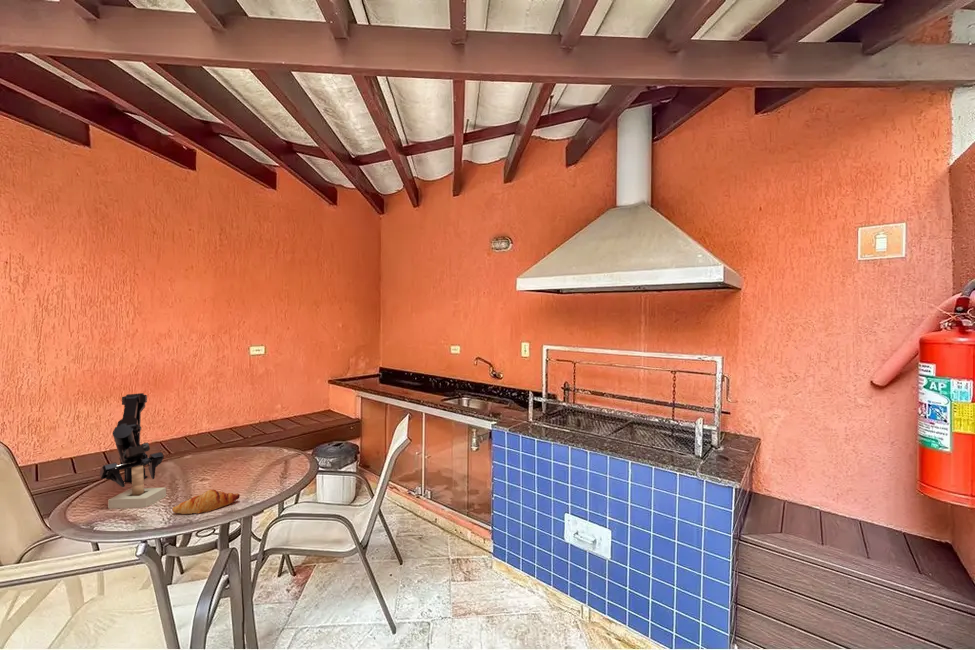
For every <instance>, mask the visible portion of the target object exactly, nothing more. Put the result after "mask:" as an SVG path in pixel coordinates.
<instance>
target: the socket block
mask: <svg viewBox="0 0 975 650" xmlns="http://www.w3.org/2000/svg"><path fill="white" fill-rule="evenodd" d="M166 497H167V487H146V488H145V487H144V494H142V495H140V496H132V488H129V489H127V490H125V491H123V492H121V493H119V494H117V495H115V496H113V497H111V498H109V499H108V500H107V501H108V503H107V504H108V506H107V507H108V510H110V509H111V510H113V509H116V510H117V509H135V508H136V509H137V508H141V509H143V508H148V507H150V506H151V505H153V504H155V503H157V502H159V501H160V500H162V499H163V498H166Z"/></svg>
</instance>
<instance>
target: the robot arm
mask: <svg viewBox="0 0 975 650" xmlns="http://www.w3.org/2000/svg"><path fill="white" fill-rule="evenodd" d="M147 402H148V395H147V394H144V392H142V393H141V392H140V393H130V394H129V393H128V394H127V393H126V395H125V396H121V405H122V406H124V407H123V414H122V418H121V419H120V420H118V422H117V425H116V426H115V427H114V429H113V431H112V437H113V440H114V444H115V446H116V450H117V453H118V455H119V461H120V462H119V463H120V464H119V465H118V464H117V462H112V463H111V462H110V463H106V464H104V465H102V466H101V469H100V472H99V476H100V479H101V480H104V479H105V480H111V481H112V482H114V483H116V484H117V485H119V486H120V487H122V488H125V487H126V486H125V485H126V484H125V483H124V482H130V483H132V467H134V466H139V465H143V472H144V479H146V478H148V476H147V475H146V468H145V466H148V468H147V469H148V472H149V474H150V477H151V479H152V480H154V479H155V475H156V468H157V467H158V466H159V465H161V464H162V462H163V460H164V458H165V455H164V454H163V452H161V451H159V452H154V453H150V454H149V455H148V454H147V452H149V451H150V449H151V448H150V444H149V442H145V443H142V444H141V431H142V426H141V421H142V420H141V418H142V417H141V414H142V411H143V410H144V409H145V407H146V403H147ZM122 470H124V471H123V472H124V478H123V477H122V475H121V472H120V471H122ZM145 477H146V478H145ZM123 479H124V480H123Z"/></svg>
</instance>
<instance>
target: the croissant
mask: <svg viewBox="0 0 975 650" xmlns="http://www.w3.org/2000/svg"><path fill="white" fill-rule="evenodd" d="M240 496H241V494H240V493H238V492H237V493H234V492H228V493H227V492H225V491H221V490H220V491H217V490H216V489H214V488H213V489H208V490H206V491H205V492H203V493H202V494H198V495H195V496H192V497H191V498H190V499H187V500H185V501H182V502H180V503H178V504H177V505H176V506H173V507H172V512H173V513H175V514H183V515H184V514H186V515H188V514H189V515H193V514H192V513H196V514H202V513H207V512H211V510H212V511H215V510H217V509H219V508H223V507H226V506H228V505H230V504H232V503H234V502H236V501H237V500H239V499H240Z"/></svg>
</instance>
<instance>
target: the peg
mask: <svg viewBox="0 0 975 650" xmlns="http://www.w3.org/2000/svg"><path fill="white" fill-rule="evenodd" d="M144 479H145V478H144V472H143V465H139V466H134V467H132V482H131V489H132V496H140V495H142V494H144V488H145V481H144Z"/></svg>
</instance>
